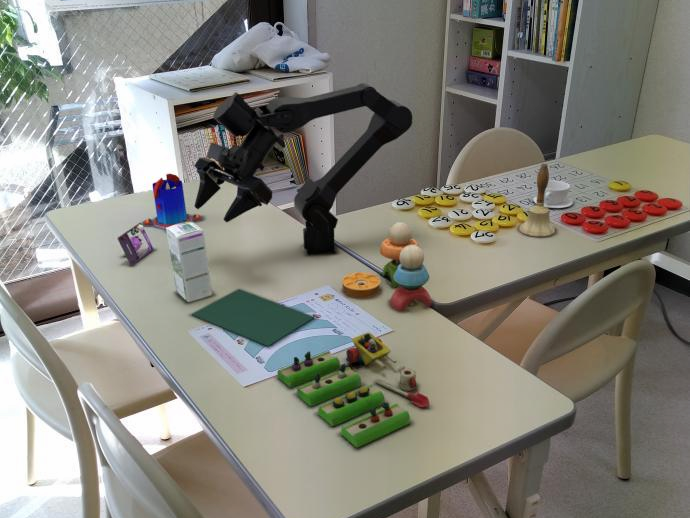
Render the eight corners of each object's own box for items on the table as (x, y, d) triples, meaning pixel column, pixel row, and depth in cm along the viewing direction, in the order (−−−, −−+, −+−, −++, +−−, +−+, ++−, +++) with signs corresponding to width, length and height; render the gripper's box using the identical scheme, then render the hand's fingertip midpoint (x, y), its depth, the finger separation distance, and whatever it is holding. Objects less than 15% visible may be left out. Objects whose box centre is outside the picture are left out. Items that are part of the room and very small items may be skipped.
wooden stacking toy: (333, 283, 155) (332, 227, 148) (407, 268, 161) (409, 213, 154) (370, 322, 141) (370, 262, 134) (449, 304, 146) (453, 245, 140)
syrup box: (213, 295, 151) (205, 228, 144) (186, 303, 148) (176, 235, 141) (201, 285, 155) (192, 219, 148) (174, 292, 152) (164, 226, 145)
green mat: (191, 315, 144) (191, 314, 144) (239, 290, 153) (238, 289, 153) (268, 347, 134) (268, 345, 134) (314, 318, 143) (314, 317, 142)
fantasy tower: (174, 234, 178) (167, 185, 172) (138, 224, 184) (130, 177, 178) (206, 217, 187) (201, 171, 181) (171, 209, 192) (165, 163, 186)
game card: (120, 237, 160) (143, 221, 168) (102, 241, 163) (125, 226, 170) (134, 265, 163) (156, 248, 170) (116, 269, 165) (138, 253, 173)
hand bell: (516, 234, 175) (523, 168, 167) (522, 221, 182) (530, 157, 173) (552, 239, 173) (561, 172, 164) (557, 226, 179) (566, 161, 171)
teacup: (542, 193, 198) (544, 176, 196) (578, 200, 193) (581, 183, 191) (526, 204, 192) (528, 187, 189) (563, 212, 186) (566, 194, 184)
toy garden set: (276, 378, 125) (274, 355, 123) (368, 342, 135) (368, 320, 132) (356, 448, 109) (356, 423, 107) (454, 403, 118) (456, 379, 116)
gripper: (200, 117, 151) (157, 179, 149) (263, 138, 141) (217, 205, 139) (230, 150, 160) (190, 209, 158) (291, 172, 150) (249, 236, 148)
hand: (210, 214), depth 150 cm, fingers open, 9 cm apart
